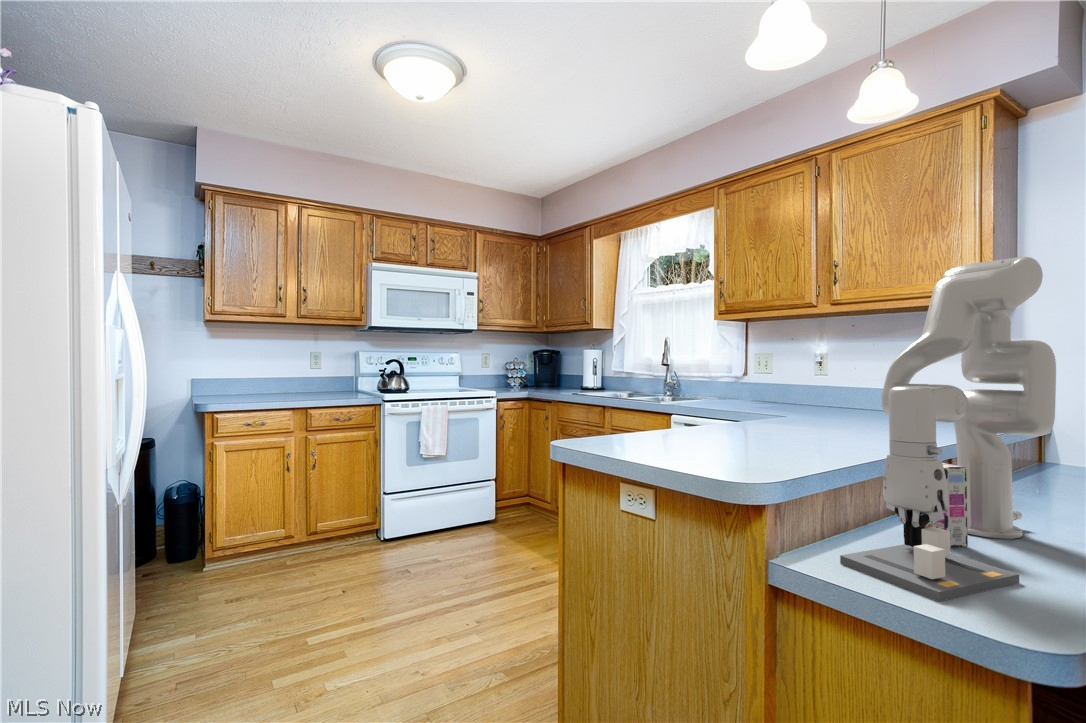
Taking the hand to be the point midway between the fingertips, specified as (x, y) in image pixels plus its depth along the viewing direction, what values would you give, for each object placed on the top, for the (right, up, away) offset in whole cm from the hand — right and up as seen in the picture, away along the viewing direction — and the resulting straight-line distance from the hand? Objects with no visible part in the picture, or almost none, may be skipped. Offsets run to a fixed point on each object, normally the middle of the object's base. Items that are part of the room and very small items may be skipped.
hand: (914, 545), depth 104 cm
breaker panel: (-3, -2, -7) cm, 8 cm away
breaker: (-7, 0, -14) cm, 15 cm away
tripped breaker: (+1, -1, -4) cm, 4 cm away
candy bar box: (+12, -3, +11) cm, 17 cm away
